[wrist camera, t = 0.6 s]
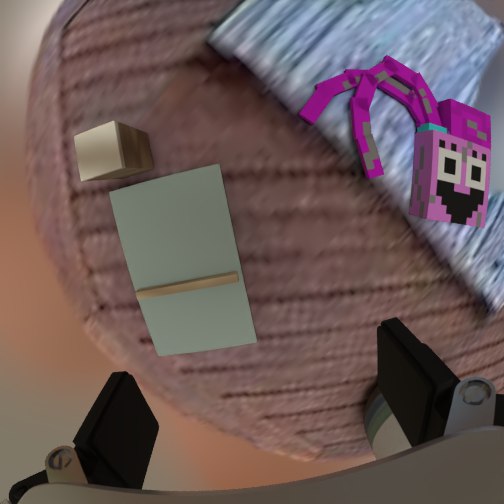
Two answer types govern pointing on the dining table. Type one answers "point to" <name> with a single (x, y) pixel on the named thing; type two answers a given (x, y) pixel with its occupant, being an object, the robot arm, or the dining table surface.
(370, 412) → the vase
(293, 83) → the dining table surface
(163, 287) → the strip
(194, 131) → the dining table surface
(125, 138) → the walnut block
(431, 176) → the toy
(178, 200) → the mat
